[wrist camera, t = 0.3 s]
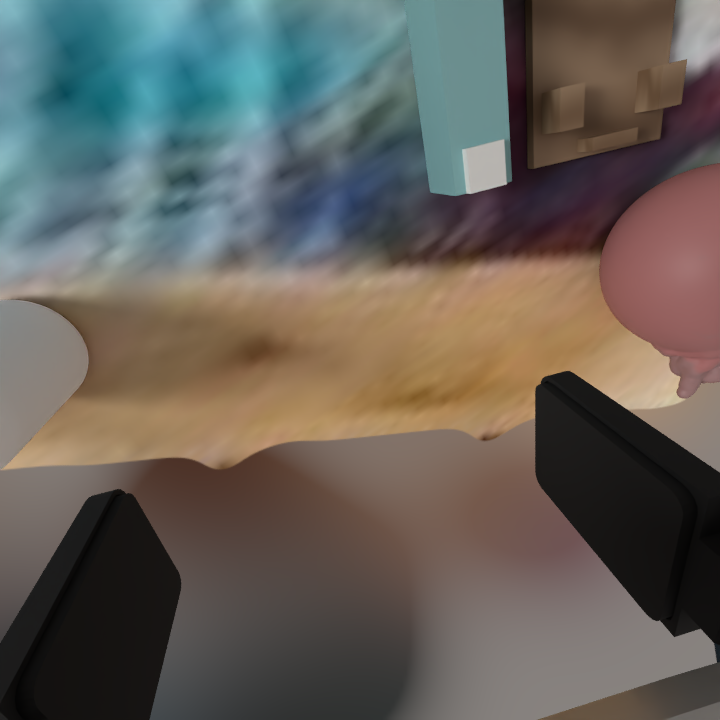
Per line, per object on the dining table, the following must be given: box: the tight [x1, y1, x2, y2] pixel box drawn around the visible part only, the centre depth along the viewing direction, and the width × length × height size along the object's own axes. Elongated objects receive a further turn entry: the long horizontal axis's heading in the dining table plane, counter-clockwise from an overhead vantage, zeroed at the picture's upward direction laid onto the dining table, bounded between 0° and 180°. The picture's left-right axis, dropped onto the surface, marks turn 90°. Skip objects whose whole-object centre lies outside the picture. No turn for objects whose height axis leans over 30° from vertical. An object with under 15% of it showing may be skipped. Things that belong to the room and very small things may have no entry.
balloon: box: [599, 163, 720, 398], centre depth 36 cm, size 15×20×15 cm
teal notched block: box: [404, 0, 512, 196], centre depth 29 cm, size 14×4×8 cm, turn 13°
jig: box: [525, 0, 687, 169], centre depth 31 cm, size 20×12×4 cm, turn 12°
